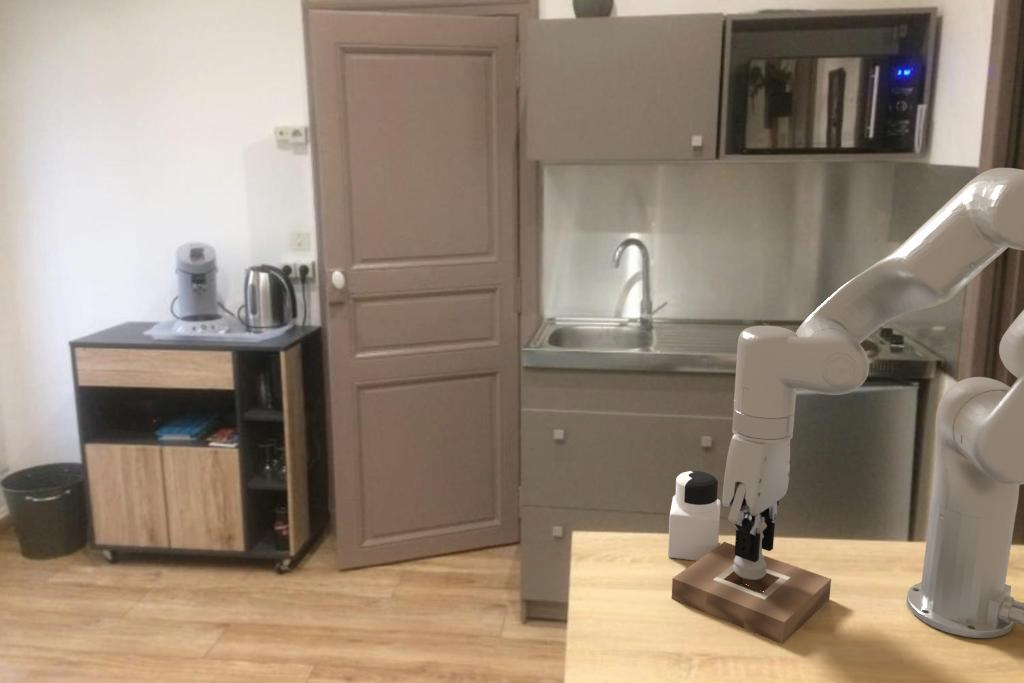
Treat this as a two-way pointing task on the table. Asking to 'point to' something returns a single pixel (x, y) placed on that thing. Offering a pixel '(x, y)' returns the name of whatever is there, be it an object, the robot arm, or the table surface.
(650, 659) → the table surface
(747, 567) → the rook chess piece
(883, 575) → the table surface
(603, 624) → the table surface
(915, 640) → the table surface
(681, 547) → the medicine bottle
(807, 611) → the board
